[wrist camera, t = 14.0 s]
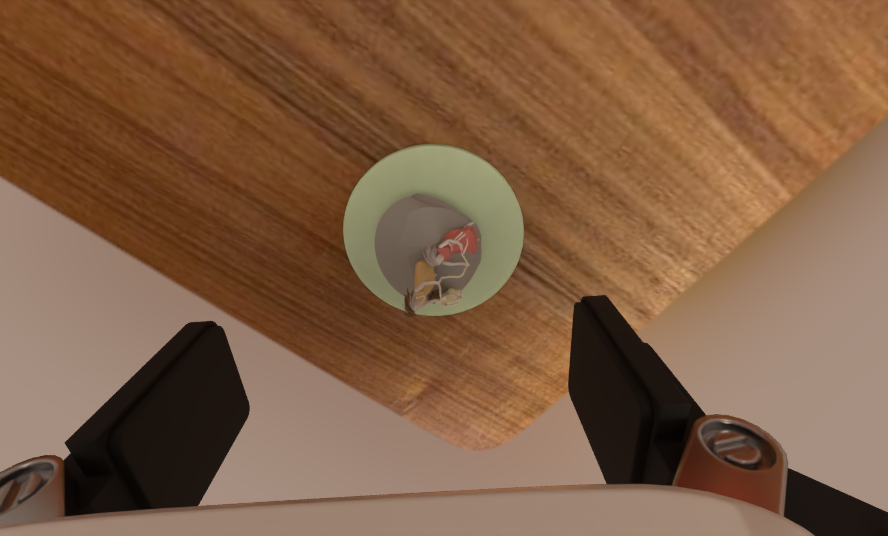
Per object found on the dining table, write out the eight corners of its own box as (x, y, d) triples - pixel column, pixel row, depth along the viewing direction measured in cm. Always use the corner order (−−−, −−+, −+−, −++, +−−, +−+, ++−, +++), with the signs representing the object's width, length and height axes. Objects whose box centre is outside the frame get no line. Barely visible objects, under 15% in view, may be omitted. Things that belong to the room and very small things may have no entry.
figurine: (362, 212, 19) (326, 267, 13) (448, 164, 18) (448, 202, 12) (420, 301, 20) (411, 382, 15) (500, 263, 20) (521, 334, 14)
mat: (359, 314, 22) (357, 320, 21) (331, 150, 18) (327, 152, 17) (521, 305, 21) (523, 311, 21) (523, 136, 18) (525, 138, 17)
